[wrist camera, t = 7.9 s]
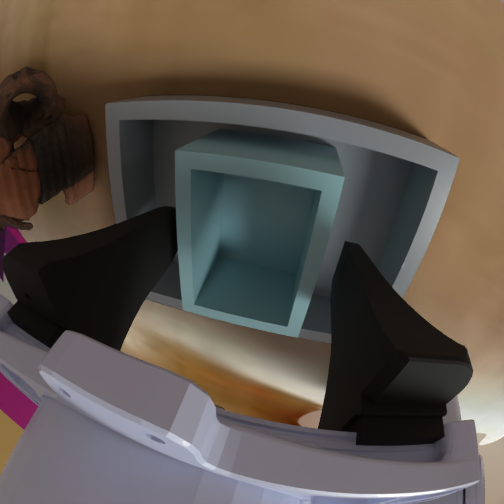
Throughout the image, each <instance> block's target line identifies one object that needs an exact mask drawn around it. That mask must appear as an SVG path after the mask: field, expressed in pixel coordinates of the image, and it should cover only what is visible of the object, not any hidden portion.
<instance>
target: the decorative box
mask: <svg viewBox="0 0 504 504" xmlns="http://www.w3.org/2000/svg"><path fill="white" fill-rule="evenodd" d="M20 243H27V242H26V241H25V240H24V238H23V237H22V235H21V234H20V232H19V231H18V229H17V228H13V227H12V226H9V225H7V226H5V227H3V231H2V232H0V294H1V295H3V296H4V297H5V298H7V299H8V300H9V301H10V302H11V303H12V304H13V305H14V304H15V303H16V302H17V299H16V297H15V295H14V293H13V291H12V289H11V287H10V285H9V283H8V281H7V279H6V276H5V274H4V271H3V266H2V259H3V257H4V256H5V255H6V254H7V253H8V252H9V251H11V250H12V249H13V248H14V247H15V246H17V245H18V244H20ZM37 408H38V405H36V404H35V403H34V402H33V401H32V400H30V399H29V398H28V397H27V396H26V395H25V394H23V393H22V392H21V391H20V390H19V389H18V388H17V387H16V386H15V385H13V384H12V383H11V382H10V381H9V380H8V379H7V378H6V377H5V376H4V375H3V374H2V373H1V372H0V409H1V410H2V411H3V412H4V413H5V414H7V415H8V416H9V417H10V418H11V419H12V420H13V421H14V422H16V423H17V424H18V425H19V426H20V427H22V428H23V429H24V430H25V428H26V426H27V425H28V423H29V421H30V420H31V418H32V416H33V415H34V413H35V411H36V410H37Z"/></svg>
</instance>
